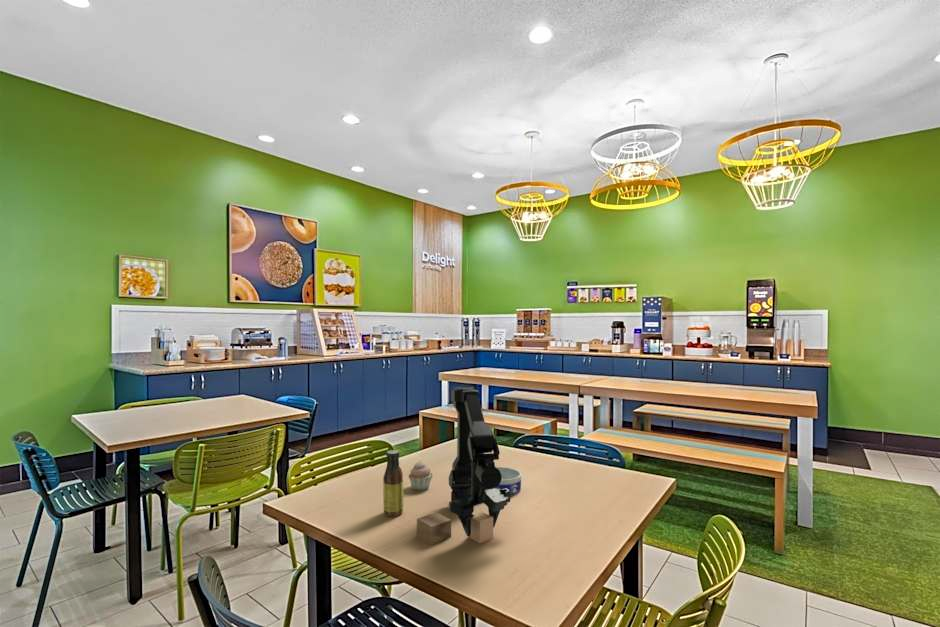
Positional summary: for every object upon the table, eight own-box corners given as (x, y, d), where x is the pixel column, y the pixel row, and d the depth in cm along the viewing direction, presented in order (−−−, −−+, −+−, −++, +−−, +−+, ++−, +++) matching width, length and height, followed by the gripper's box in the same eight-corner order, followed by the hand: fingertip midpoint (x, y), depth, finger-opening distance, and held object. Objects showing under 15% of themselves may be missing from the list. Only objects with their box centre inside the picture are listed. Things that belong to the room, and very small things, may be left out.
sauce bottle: (394, 508, 152) (395, 447, 152) (407, 513, 148) (408, 450, 148) (378, 514, 147) (379, 451, 147) (391, 519, 143) (392, 455, 143)
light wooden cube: (481, 532, 135) (481, 511, 135) (493, 538, 131) (493, 517, 131) (468, 537, 132) (468, 516, 132) (479, 543, 128) (480, 521, 128)
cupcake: (434, 484, 175) (435, 457, 175) (430, 493, 166) (430, 465, 166) (410, 483, 176) (411, 456, 176) (405, 491, 167) (405, 464, 167)
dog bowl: (506, 500, 161) (506, 482, 161) (471, 490, 170) (471, 473, 170) (528, 488, 173) (528, 471, 173) (494, 479, 182) (495, 464, 182)
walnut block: (436, 529, 137) (436, 512, 137) (451, 537, 132) (451, 520, 132) (416, 536, 132) (417, 518, 132) (431, 545, 127) (431, 526, 127)
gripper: (475, 491, 120) (474, 552, 119) (524, 477, 132) (523, 532, 131) (449, 480, 128) (448, 537, 128) (497, 467, 140) (497, 519, 140)
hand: (480, 531), depth 132 cm, fingers open, 9 cm apart
